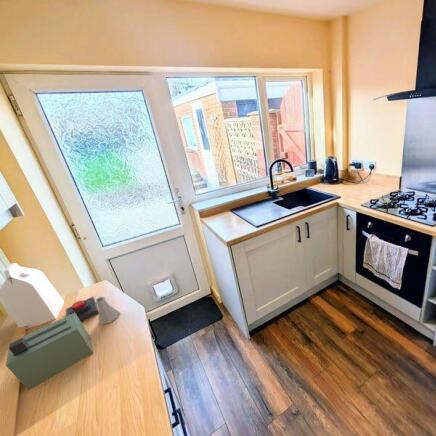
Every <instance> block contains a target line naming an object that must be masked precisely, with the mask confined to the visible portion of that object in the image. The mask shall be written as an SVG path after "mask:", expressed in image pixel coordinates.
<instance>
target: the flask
mask: <svg viewBox="0 0 436 436" xmlns="http://www.w3.org/2000/svg"><path fill="white" fill-rule="evenodd" d="M95 302H96V304H97V308H98V311H99V314H98V322H99V323H100V324H101V325H106V324H107V325H108V324H110V323H112V322H113V321H114V320H116V319H117V318H118V317H119V316H120V314H121V312H120V311H119V310H117V309H116V308H115V307H113V306H112V305H110V304H109V303H108V302H107V300H106V297H105V296H99V297H98V298H96V299H95Z"/></svg>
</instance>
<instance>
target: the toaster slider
mask: <svg viewBox="0 0 436 436" xmlns="http://www.w3.org/2000/svg"><path fill="white" fill-rule="evenodd" d="M20 338H21V339H20ZM20 338H18V339H19V340H17V339H15V340H16V341H15V340H13V341H14V342H13V341H11V342H12V343H11V342H9V345H8V350H9V349H10V351H11V352H12V353H13V354H14V355H15V356H17V355H19V354H21V353H23V352H25V351H27V350H29V344H28V343H27V342H26V341H25V339H24V338H22V337H20Z"/></svg>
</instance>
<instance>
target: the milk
mask: <svg viewBox="0 0 436 436" xmlns="http://www.w3.org/2000/svg"><path fill="white" fill-rule="evenodd" d="M3 273H4V276H5V278H6V279H5V280H4V282H3V283H2V285H1V287H0V301H1V303H2V305H4V307H5V309H6V311H7V312H8V313H9V316H10V317H11V318H12V320H13V321H14V322H15V324H16V326H17V327H18V328H19V329H20V328H23V327H25V330H28V329H31V328H34V327H37V326H39V325H42V324H46V323H49V322H51V321H54V320H57V318H58V316H59V314H60V312H61V310H62V308H63V305H64V304H65V300H64V299H63V298H62V296H61V295H60V294H59V292H58V291H57V289H56V288H55V286H53V284H52V283H51V282H50V280H49V279H48V277H47V276H46V275H45V274H44V272H43V271H42V270H40V269H36V268H32V267H31V268H29V267H25V266H20V265H19V264H18V263H16V262H13V263H10V264H9V265H8V266H7V267H6V268H5V269H4V270H3Z"/></svg>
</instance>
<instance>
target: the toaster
mask: <svg viewBox="0 0 436 436" xmlns="http://www.w3.org/2000/svg"><path fill="white" fill-rule="evenodd" d="M21 338H24V339H25V341H26V342H27V343H28V344H29V350H27V351H25V352H23V353H21V354H19V355H17V356H15V355H14V354H13V353H12V352H11V351H10V349H9V348H8V351H7V356H6V362H5V366H6V368H8V369H9V371H10V372H11V373H12V374H13V375H14V376H15V377H16V378H17V379H18V380H19V382H20V383H21V384H22V385H23V386H24V387H25V388H26V389H27V390H28V391H29V390H31V389H33V388H34V387H36V386H38V385H40V384H42V383H44V382H45V381H48V380H49V379H50V378H52V377H54V376H56V375H57V374H59V373H61V372H62V371H64V370H66V369H67V368H70V367H71V366H74V365H75V364H76V363H78V362H80V361H82V360H84V359H85V358H87V357H89V356H91V355H92V354H94V349H93V346H92V342H91V336H90V334H89V332H88V331H87V329H86V327H85V326H84V324H83V323H82V322H81V321H80V320H79V318H78V317H77V315H76V313H73V314H71V315H68V316H64V317H62V318H60V319H58V320H56V321H54V322H52V323H49V324H47V325H45V326H43V327H41V328H38V329H37V330H35V331H33V332H30V333H28V334H26V335H23V336H22V337H19V338H18V339H15V340H13V341H11V342H10V343H12V342H14V341H16V340H19V339H21Z"/></svg>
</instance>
